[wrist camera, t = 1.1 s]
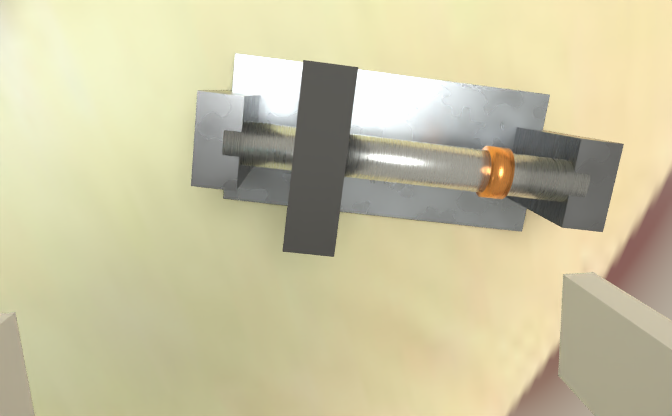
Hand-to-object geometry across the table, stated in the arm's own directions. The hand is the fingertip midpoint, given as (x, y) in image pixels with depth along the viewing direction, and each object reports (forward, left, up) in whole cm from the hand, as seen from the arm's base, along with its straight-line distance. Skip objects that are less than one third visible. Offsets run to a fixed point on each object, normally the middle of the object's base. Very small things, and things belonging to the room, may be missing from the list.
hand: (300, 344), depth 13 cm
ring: (0, +3, -22) cm, 22 cm away
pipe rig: (+5, +3, -27) cm, 27 cm away
